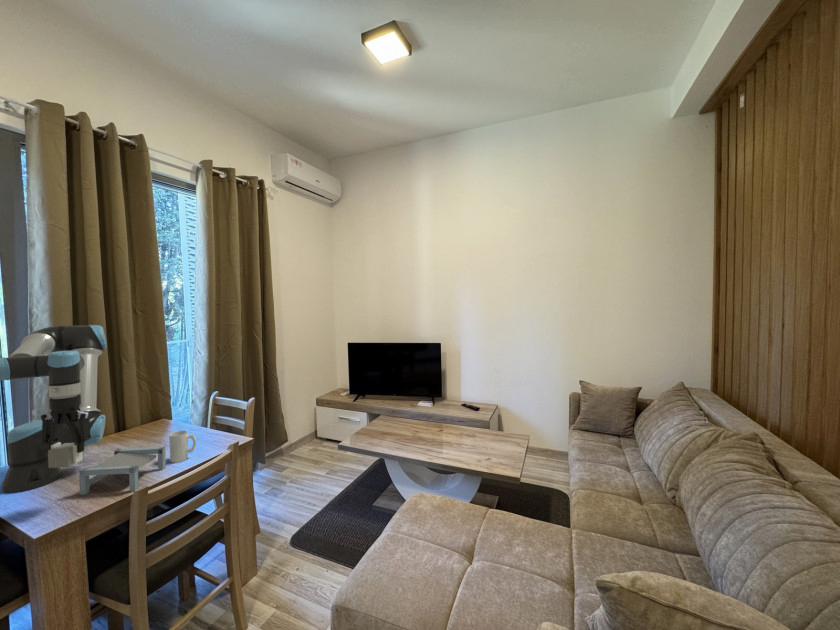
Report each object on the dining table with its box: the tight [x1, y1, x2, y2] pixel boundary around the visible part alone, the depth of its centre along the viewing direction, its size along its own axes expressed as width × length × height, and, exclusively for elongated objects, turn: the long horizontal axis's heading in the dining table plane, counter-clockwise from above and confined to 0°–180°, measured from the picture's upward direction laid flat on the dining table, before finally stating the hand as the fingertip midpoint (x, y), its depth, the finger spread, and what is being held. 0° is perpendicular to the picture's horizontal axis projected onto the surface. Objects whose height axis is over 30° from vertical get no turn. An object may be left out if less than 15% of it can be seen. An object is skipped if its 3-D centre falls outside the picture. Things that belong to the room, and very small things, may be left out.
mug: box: [168, 430, 197, 463], centre depth 151 cm, size 10×7×12 cm, turn 109°
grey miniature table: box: [78, 446, 166, 496], centre depth 133 cm, size 18×18×9 cm
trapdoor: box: [92, 452, 157, 475], centre depth 132 cm, size 14×14×1 cm
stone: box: [48, 443, 85, 468], centre depth 116 cm, size 6×6×6 cm
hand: (67, 461), depth 116 cm, fingers closed on stone, 6 cm apart
